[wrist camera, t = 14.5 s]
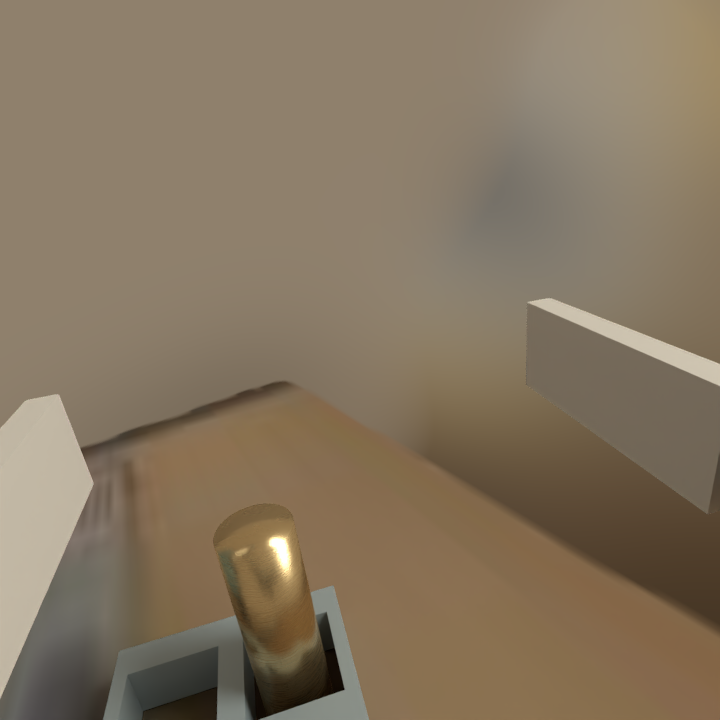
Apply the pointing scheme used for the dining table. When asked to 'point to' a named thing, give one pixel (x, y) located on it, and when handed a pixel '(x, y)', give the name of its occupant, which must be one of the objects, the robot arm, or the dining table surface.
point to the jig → (226, 671)
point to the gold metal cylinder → (273, 605)
